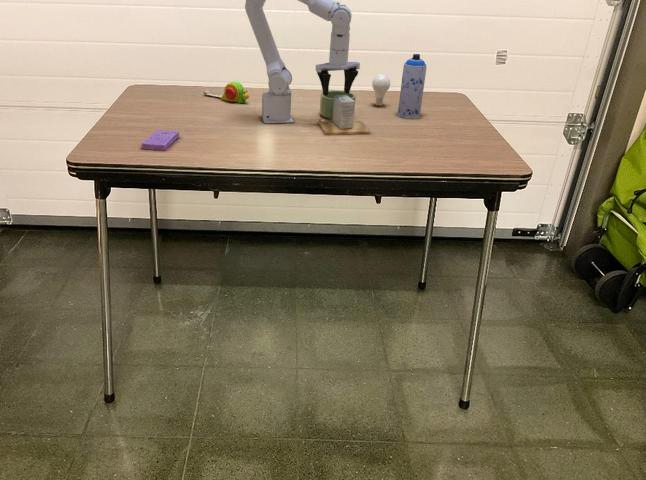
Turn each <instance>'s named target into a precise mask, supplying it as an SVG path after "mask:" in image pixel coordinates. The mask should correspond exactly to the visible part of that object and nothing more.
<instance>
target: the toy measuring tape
mask: <svg viewBox="0 0 646 480" xmlns="http://www.w3.org/2000/svg"><path fill="white" fill-rule="evenodd" d="M203 96H211V97H217V98H220V99H221V100H223V101H227V102H231V103H239V104H243V103H246V102H247V100H248V99H250V94H249V93H248V90H245V88H244V86H243V84H242V83H240V82H239V81H237V80H235V81H230V82H229V83H227V84H226V85H225V87H224V92H223V94H222V95H219V94H218V95H217V94H212V93H211V92H210V91H209V90H208V89H207V90H204V91H203Z"/></svg>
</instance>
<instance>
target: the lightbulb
mask: <svg viewBox="0 0 646 480" xmlns="http://www.w3.org/2000/svg"><path fill="white" fill-rule="evenodd" d="M371 85H372V86H371V87H372V89H373V91H374V95H375V103H374V104H375V105H376V106H377V107H381V106H383V105H384V98H385V96H386V94H387V92H388V90H389V89H390V88H391V79H390V77H389V76H388V75H386V74H384V73H379V74H377V75H375V76H374V77H373V79H372V82H371Z"/></svg>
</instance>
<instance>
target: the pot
mask: <svg viewBox="0 0 646 480" xmlns="http://www.w3.org/2000/svg"><path fill="white" fill-rule="evenodd" d="M336 95H347V96H349V97H350V98H351V99H353V100H354V101H355V102H356V100H357V99H356V95H355V93H352V92H349V94H347V93H345V92H344V90H328V96H325V95H324V94H323V92H321V93H320V98H319V99H320V100H319V114H320V115H321V116H322V117H323V118H325V119H327V120H331V121H332V120H333V103H334V96H336ZM355 108H356V107H355ZM355 108H354V111H355Z"/></svg>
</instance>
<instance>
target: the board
mask: <svg viewBox="0 0 646 480" xmlns="http://www.w3.org/2000/svg"><path fill="white" fill-rule="evenodd" d="M318 125H319V127H320V128H321V130H322V132H323V133H324V134H325V136H337V135H338V136H339V135H341V136H342V135H343V136H344V135H370V133H371V131H370V130H369V129H368V127H366V125H365V124H364V123H363V122H362V121H361V120H354V122H353V128H349V129H340V128H339V127H338V126H337V125H336V124H335V123H334V122H333V121H318Z"/></svg>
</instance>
